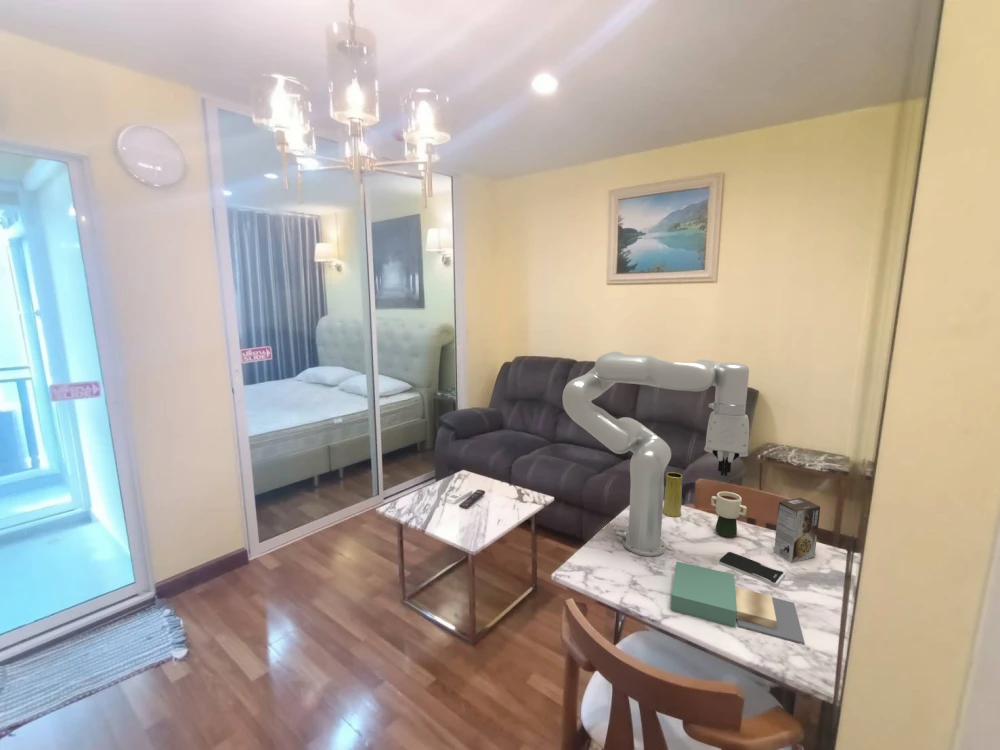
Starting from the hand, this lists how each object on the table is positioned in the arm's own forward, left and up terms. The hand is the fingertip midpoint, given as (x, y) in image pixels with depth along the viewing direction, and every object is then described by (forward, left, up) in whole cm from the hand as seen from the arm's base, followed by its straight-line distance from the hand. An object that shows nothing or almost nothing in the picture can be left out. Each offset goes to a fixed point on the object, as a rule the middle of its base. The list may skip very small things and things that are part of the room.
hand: (723, 474), depth 125 cm
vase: (-14, +29, -27) cm, 42 cm away
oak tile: (+8, -18, -27) cm, 33 cm away
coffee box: (+21, +16, -27) cm, 38 cm away
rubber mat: (+11, -18, -27) cm, 34 cm away
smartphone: (+9, +2, -28) cm, 29 cm away
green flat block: (-3, -18, -27) cm, 33 cm away
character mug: (+3, +21, -27) cm, 35 cm away
